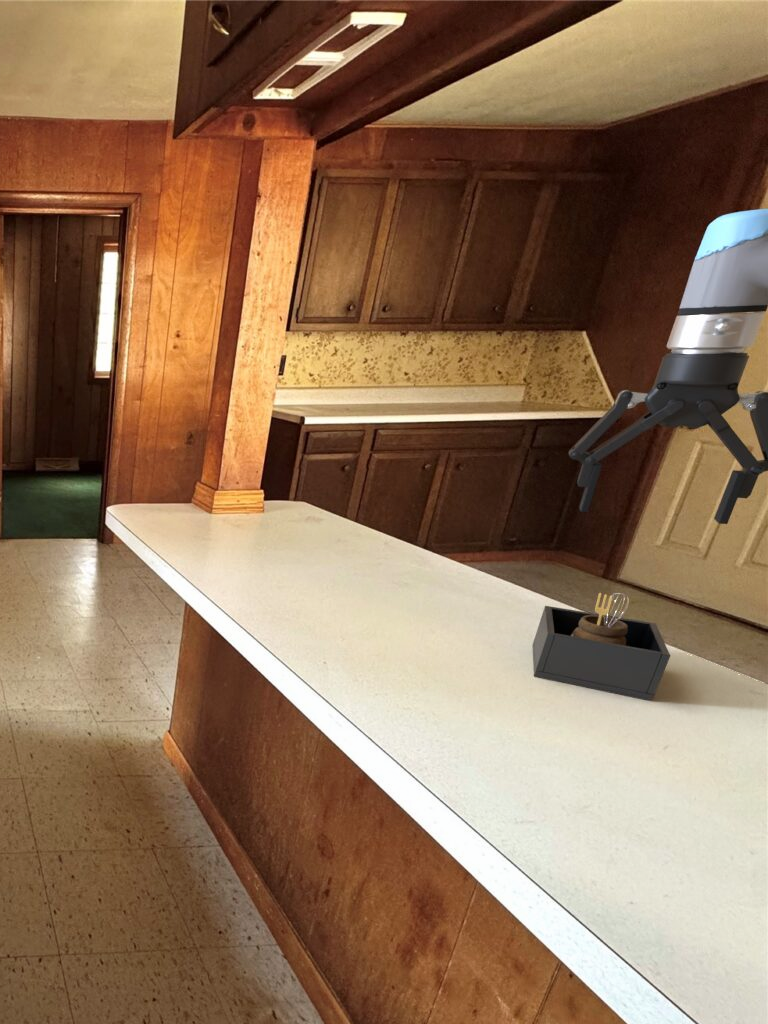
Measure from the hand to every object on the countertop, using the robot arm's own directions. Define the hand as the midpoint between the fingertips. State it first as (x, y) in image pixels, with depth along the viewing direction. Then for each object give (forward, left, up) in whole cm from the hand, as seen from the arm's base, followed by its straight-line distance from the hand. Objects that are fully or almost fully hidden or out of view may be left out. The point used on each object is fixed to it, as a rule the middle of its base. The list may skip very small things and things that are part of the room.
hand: (648, 515), depth 91 cm
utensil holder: (+1, +2, -23) cm, 23 cm away
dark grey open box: (+1, +2, -23) cm, 24 cm away
